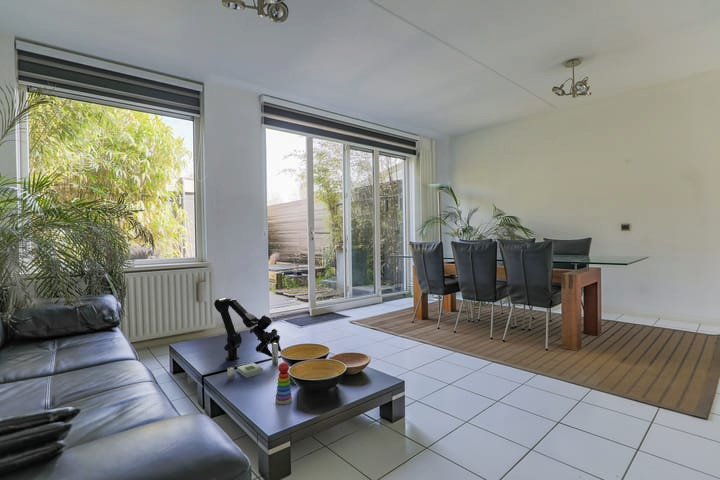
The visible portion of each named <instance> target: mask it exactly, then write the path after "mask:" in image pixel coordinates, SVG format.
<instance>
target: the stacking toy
mask: <svg viewBox="0 0 720 480" xmlns="http://www.w3.org/2000/svg"><path fill="white" fill-rule="evenodd" d="M277 367H278V372H279V373H278V377H277V386H276V394H275V399H274V400H275V403H276V404H277V405H281V406H282V405H288V404H290V403H292V401H293V396H292V389H291V388H292V385H291V381H290V377H289V376H290V372H289V371H290V365H289V363H288V362H285V361H282V362H281V363H280V364H278V366H277Z"/></svg>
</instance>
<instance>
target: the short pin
mask: <svg viewBox="0 0 720 480" xmlns="http://www.w3.org/2000/svg"><path fill="white" fill-rule="evenodd" d="M226 369H227V373H226V376H227V381H234V380H235V367H234V366H230V367H227V368H226Z"/></svg>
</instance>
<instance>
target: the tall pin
mask: <svg viewBox="0 0 720 480" xmlns="http://www.w3.org/2000/svg"><path fill="white" fill-rule="evenodd" d="M271 353H272V355H273V357H271V366H272V367H278V366H279V351H278V343H272V344H271ZM277 365H278V366H277Z"/></svg>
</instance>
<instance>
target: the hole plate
mask: <svg viewBox="0 0 720 480" xmlns="http://www.w3.org/2000/svg"><path fill="white" fill-rule="evenodd" d="M236 369H237V372H238V373H239V374H241V375H242V376H243V377H245V379H248V378H250V377H251V378H252V377H254V376H257V375H260V374H263V373H264V368H262V367H261V366H260V365H258V364H256V363H255V362H251V363H248V364H244V365H240V366H237V368H236Z"/></svg>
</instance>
